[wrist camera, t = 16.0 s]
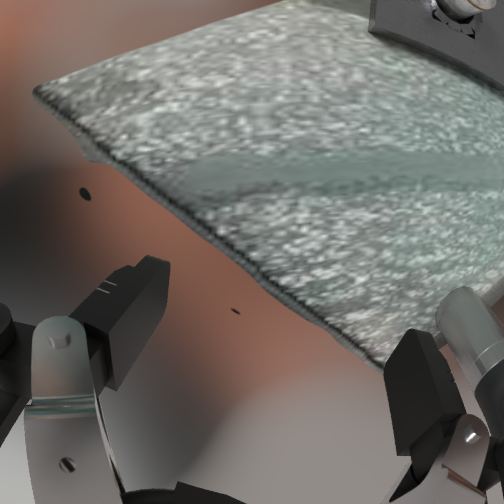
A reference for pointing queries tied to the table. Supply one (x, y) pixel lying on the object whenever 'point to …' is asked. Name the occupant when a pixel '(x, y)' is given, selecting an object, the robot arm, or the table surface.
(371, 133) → the table surface
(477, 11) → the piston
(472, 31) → the plate
